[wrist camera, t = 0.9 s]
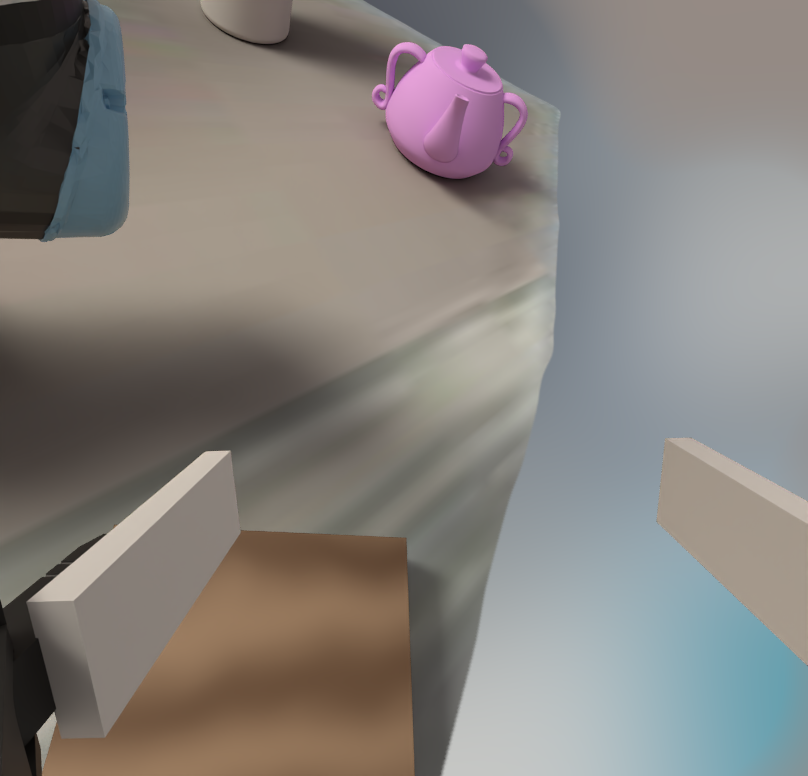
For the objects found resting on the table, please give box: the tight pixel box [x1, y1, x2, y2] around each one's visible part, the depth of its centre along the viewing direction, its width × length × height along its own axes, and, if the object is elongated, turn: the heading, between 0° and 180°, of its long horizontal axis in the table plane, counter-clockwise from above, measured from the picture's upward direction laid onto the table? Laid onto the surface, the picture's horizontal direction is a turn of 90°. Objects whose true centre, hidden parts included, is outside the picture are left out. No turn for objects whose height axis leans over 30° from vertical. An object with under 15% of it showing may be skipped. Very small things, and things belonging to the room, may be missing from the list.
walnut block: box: [42, 525, 415, 776], centre depth 27 cm, size 16×18×5 cm
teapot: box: [372, 42, 528, 179], centre depth 61 cm, size 22×22×14 cm
